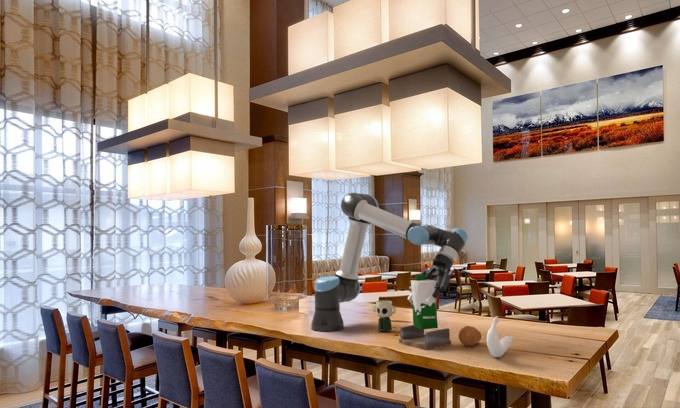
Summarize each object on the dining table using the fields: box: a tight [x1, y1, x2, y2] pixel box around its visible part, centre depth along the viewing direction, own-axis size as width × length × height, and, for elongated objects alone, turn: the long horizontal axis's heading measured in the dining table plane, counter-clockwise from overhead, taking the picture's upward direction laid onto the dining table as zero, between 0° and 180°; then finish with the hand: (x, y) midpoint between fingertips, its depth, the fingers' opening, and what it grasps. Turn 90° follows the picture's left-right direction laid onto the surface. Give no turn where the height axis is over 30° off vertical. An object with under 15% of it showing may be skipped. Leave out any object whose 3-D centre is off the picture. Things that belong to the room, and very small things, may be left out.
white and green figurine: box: [372, 300, 397, 332], centre depth 193 cm, size 11×7×13 cm, turn 58°
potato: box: [458, 325, 483, 348], centre depth 165 cm, size 7×13×7 cm, turn 142°
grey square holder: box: [398, 324, 452, 351], centre depth 168 cm, size 14×14×6 cm
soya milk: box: [410, 274, 439, 330], centre depth 169 cm, size 9×9×20 cm
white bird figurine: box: [486, 315, 514, 358], centre depth 148 cm, size 5×19×15 cm, turn 146°
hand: (418, 302), depth 167 cm, fingers closed on soya milk, 9 cm apart
